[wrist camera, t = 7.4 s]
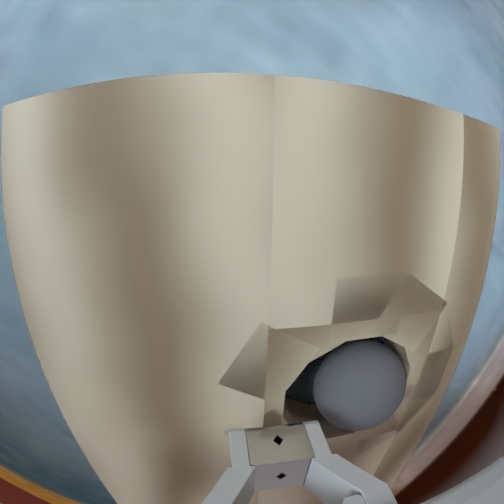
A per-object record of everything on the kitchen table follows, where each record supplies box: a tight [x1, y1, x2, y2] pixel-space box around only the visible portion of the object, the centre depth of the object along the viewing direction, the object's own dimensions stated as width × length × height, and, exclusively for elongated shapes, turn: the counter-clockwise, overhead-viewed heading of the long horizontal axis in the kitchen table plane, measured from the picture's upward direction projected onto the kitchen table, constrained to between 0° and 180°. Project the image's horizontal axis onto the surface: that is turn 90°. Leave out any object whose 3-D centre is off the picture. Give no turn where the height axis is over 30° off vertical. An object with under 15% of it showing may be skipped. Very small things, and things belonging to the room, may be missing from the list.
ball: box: [313, 339, 406, 431], centre depth 11 cm, size 4×4×4 cm
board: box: [1, 73, 500, 504], centre depth 12 cm, size 18×22×2 cm
